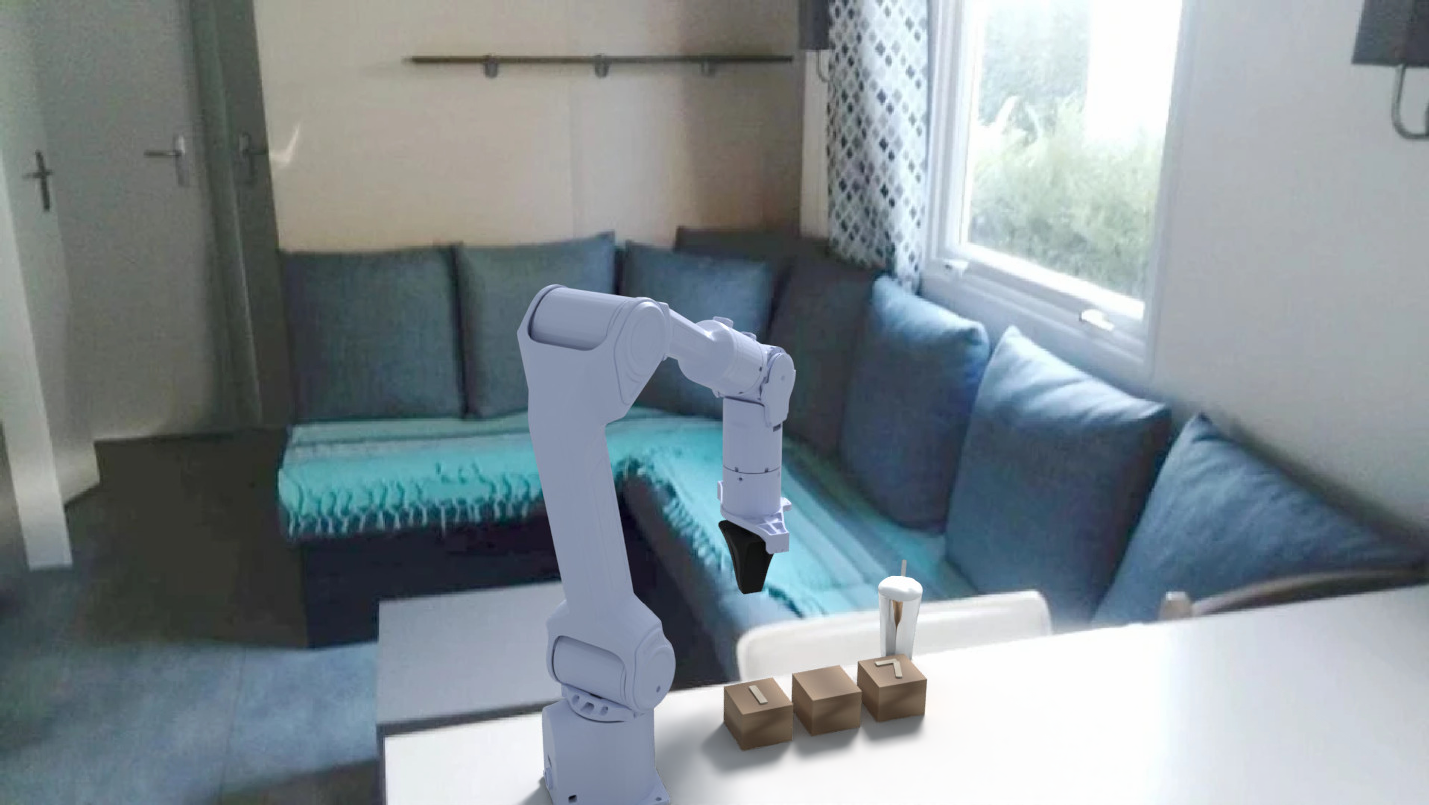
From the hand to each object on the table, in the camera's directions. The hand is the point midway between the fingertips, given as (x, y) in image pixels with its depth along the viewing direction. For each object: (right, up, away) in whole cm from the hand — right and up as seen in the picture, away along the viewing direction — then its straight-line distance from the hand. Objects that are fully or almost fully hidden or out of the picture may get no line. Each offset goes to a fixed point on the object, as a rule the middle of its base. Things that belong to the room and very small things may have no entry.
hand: (750, 590), depth 115 cm
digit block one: (0, -12, -7) cm, 14 cm away
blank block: (+7, -12, -5) cm, 14 cm away
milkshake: (+16, -8, +6) cm, 19 cm away
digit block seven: (+14, -11, -3) cm, 18 cm away
